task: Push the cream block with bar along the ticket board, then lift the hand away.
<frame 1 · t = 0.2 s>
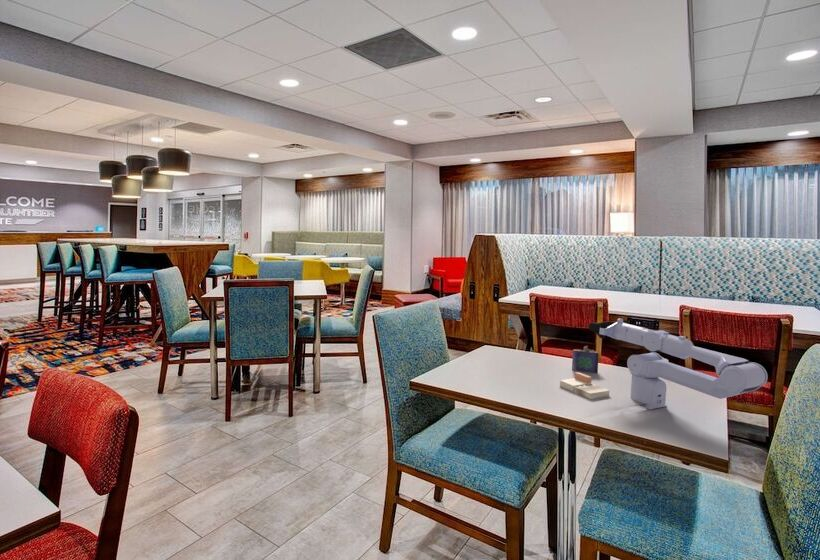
hand: (597, 325, 160), 21 cm above the table, tool horizontal, fingers open, 7 cm apart
cream block with bar: (575, 381, 154), point 3 cm above the table, slide at 0.0 cm
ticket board: (578, 394, 150), on the table
flask: (584, 374, 174), on the table
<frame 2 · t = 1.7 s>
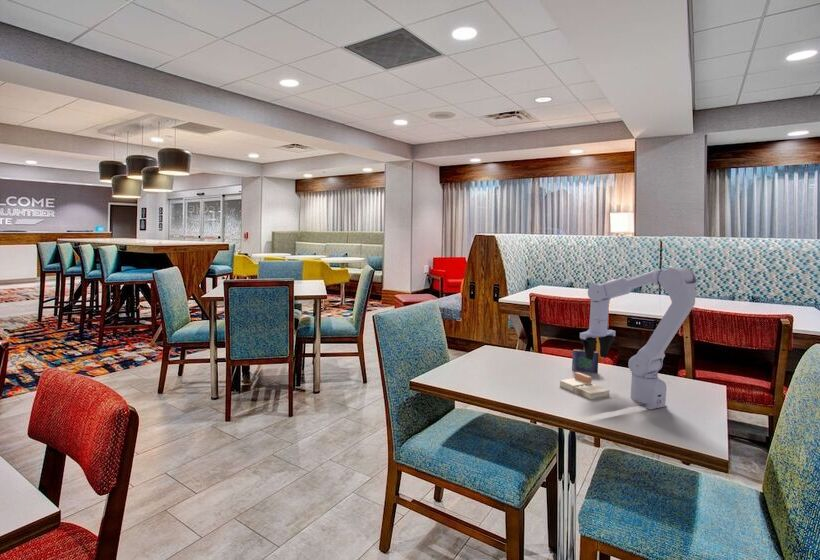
hand: (596, 358, 157), 10 cm above the table, tool pointing down, fingers open, 6 cm apart
nothing on the table moved.
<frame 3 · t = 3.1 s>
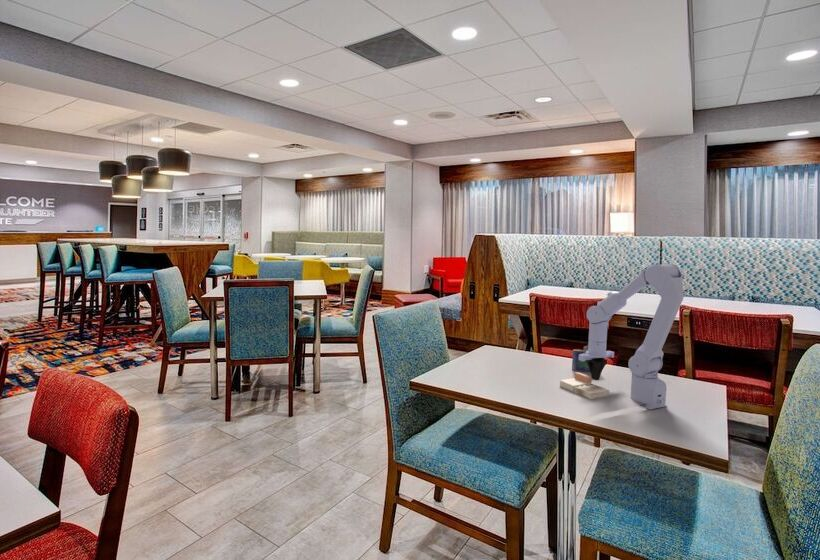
hand: (595, 379, 158), 3 cm above the table, tool pointing down, fingers closed
nothing on the table moved.
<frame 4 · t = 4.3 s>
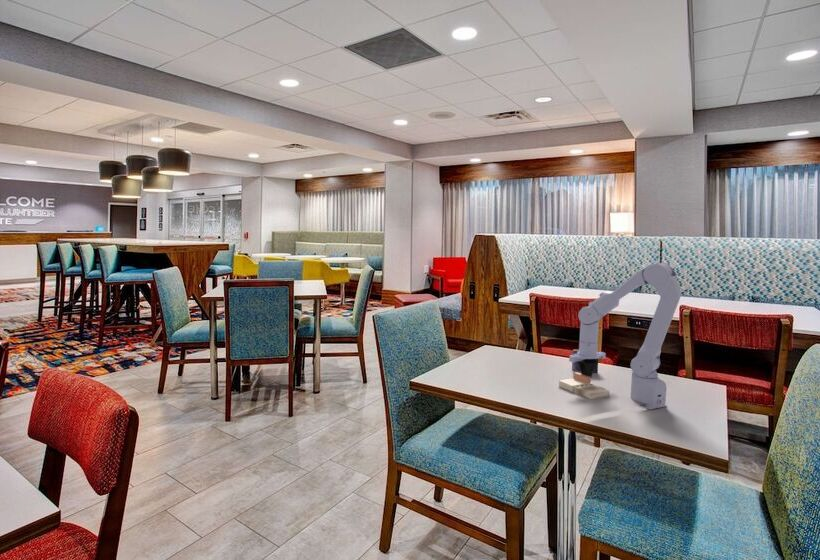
hand: (586, 380, 156), 3 cm above the table, tool pointing down, fingers closed
cream block with bar: (574, 381, 154), point 3 cm above the table, slide at 0.4 cm, touching gripper
everything else where it was.
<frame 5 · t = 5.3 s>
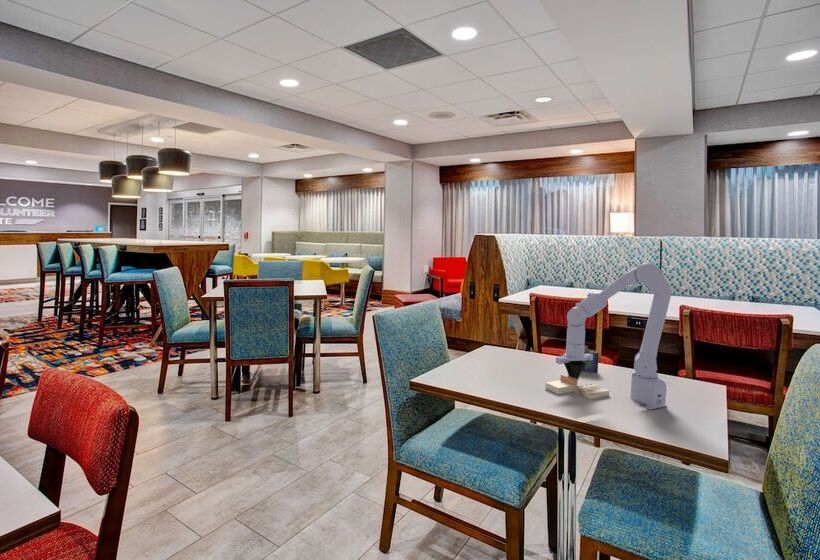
hand: (573, 382, 154), 3 cm above the table, tool pointing down, fingers closed
cream block with bar: (561, 383, 151), point 3 cm above the table, slide at 6.3 cm, touching gripper
everything else where it was.
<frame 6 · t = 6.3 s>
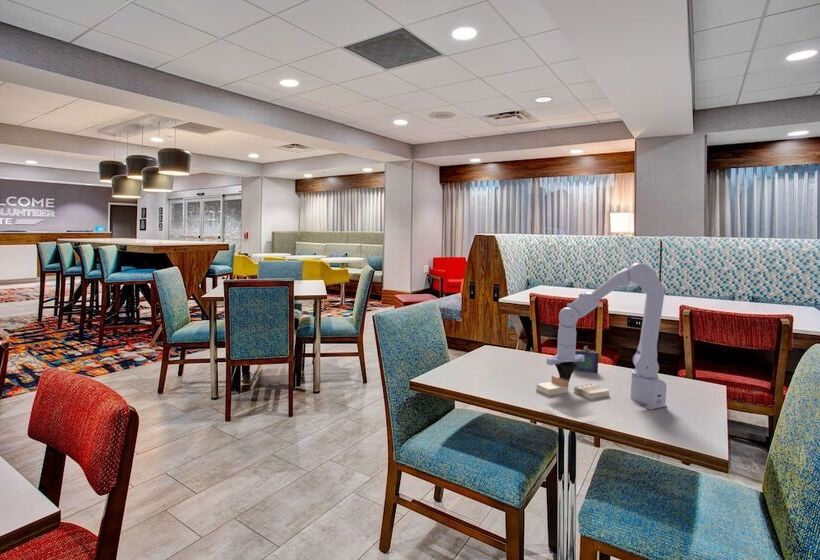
hand: (564, 384, 152), 3 cm above the table, tool pointing down, fingers closed
cream block with bar: (552, 385, 150), point 3 cm above the table, slide at 10.1 cm, touching gripper
everything else where it was.
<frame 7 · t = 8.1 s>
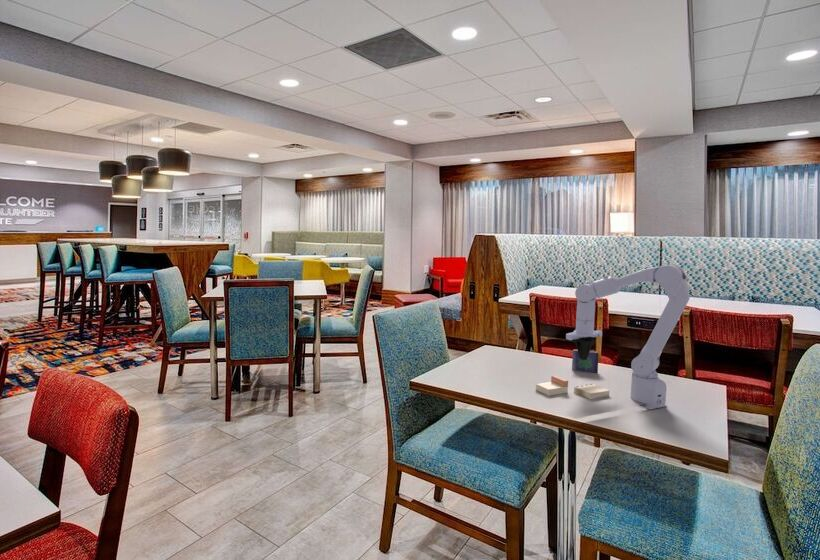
hand: (583, 359, 155), 10 cm above the table, tool pointing down, fingers closed
cream block with bar: (551, 385, 150), point 3 cm above the table, slide at 10.3 cm
everything else where it was.
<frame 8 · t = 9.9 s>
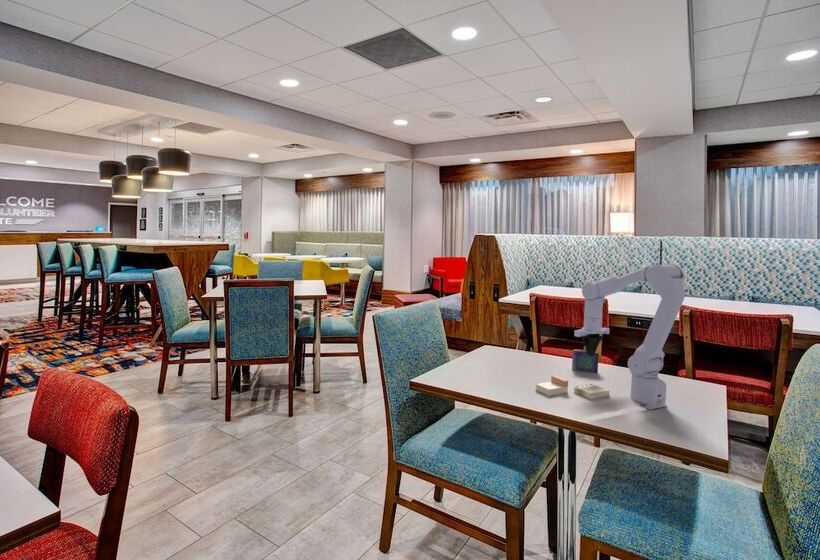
hand: (590, 355, 161), 10 cm above the table, tool pointing down, fingers closed
nothing on the table moved.
at the end: cream block with bar slide at 10.3 cm; flask moved 0.3 cm from its start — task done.
